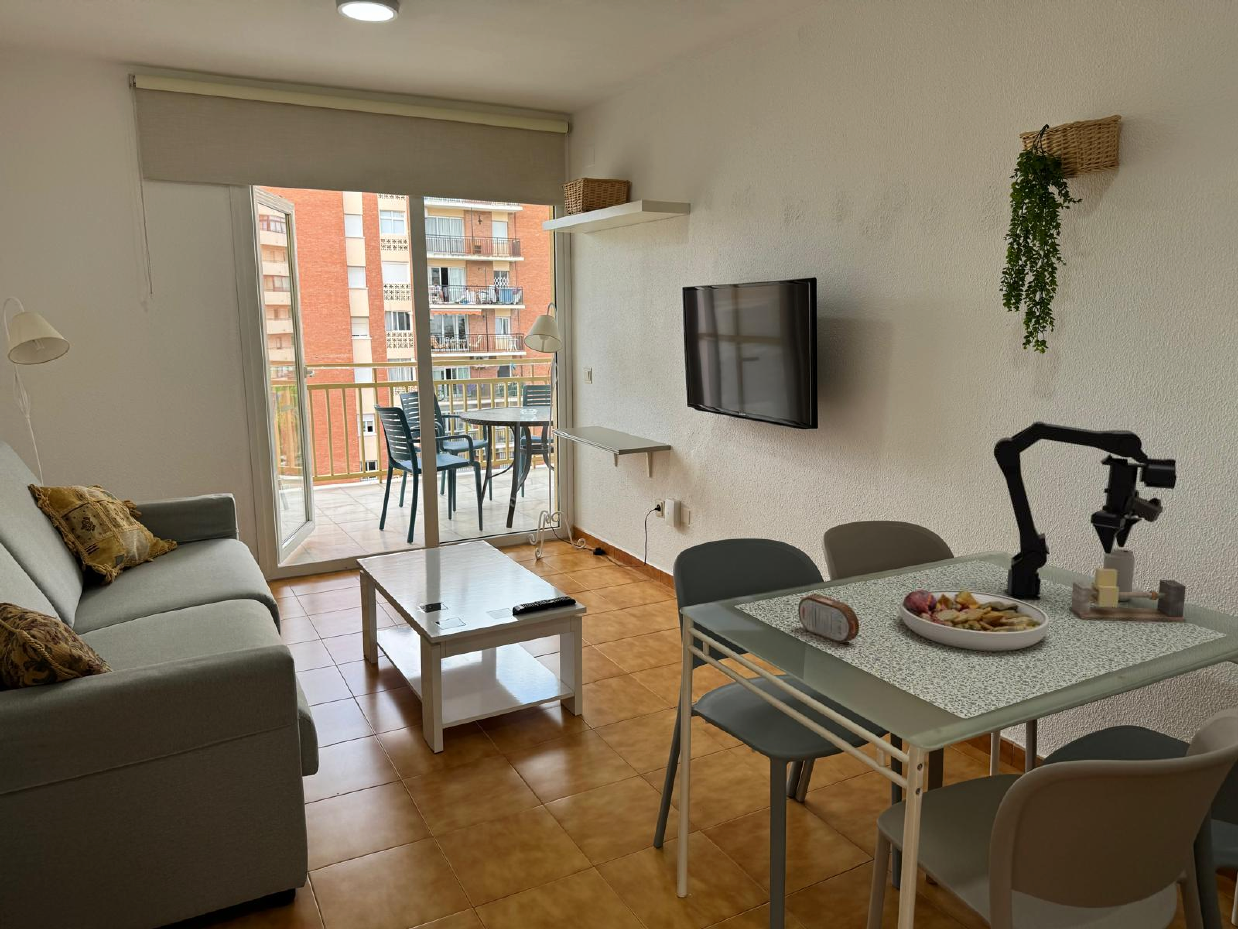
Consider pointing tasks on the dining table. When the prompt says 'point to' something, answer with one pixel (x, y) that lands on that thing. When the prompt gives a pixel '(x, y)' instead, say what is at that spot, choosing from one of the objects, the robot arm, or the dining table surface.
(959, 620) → the bowl
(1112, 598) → the marker sleeve
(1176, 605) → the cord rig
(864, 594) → the dining table surface
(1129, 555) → the beverage can
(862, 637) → the dining table surface
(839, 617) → the tin
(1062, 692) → the dining table surface
